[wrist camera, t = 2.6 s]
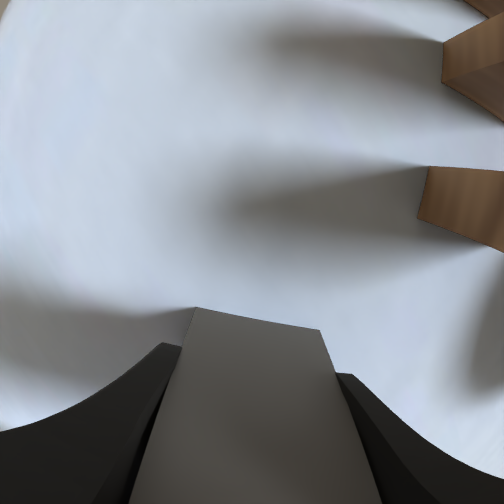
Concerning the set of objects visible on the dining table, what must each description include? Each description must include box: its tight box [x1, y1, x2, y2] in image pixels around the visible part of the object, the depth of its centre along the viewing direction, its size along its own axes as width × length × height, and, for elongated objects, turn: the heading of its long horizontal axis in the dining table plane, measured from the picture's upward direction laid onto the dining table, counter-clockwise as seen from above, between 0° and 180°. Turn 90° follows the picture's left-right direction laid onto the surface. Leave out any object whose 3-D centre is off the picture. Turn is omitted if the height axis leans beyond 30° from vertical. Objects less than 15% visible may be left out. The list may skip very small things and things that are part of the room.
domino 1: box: [129, 307, 382, 504], centre depth 7 cm, size 2×5×9 cm, turn 78°
